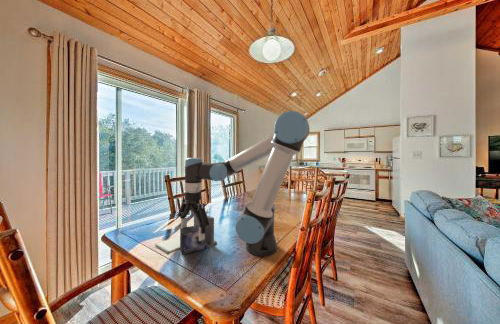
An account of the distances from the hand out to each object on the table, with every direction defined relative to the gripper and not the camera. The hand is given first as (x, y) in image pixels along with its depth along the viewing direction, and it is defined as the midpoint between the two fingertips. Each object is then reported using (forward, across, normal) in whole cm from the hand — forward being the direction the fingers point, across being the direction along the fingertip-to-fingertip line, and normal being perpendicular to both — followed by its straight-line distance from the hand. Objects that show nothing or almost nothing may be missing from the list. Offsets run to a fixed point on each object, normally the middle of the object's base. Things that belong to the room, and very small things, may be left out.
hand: (192, 235), depth 92 cm
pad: (+7, +11, +1) cm, 14 cm away
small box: (+7, 0, 0) cm, 7 cm away
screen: (+7, +2, -9) cm, 11 cm away
